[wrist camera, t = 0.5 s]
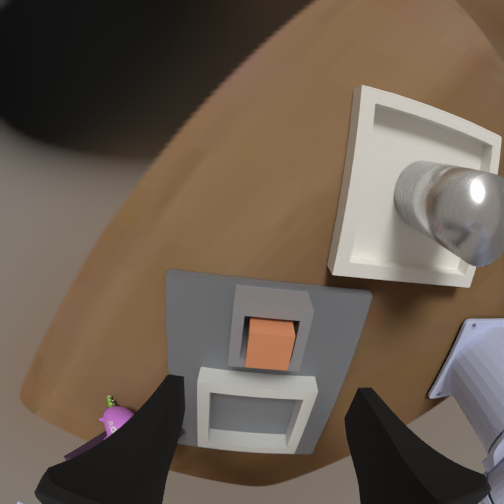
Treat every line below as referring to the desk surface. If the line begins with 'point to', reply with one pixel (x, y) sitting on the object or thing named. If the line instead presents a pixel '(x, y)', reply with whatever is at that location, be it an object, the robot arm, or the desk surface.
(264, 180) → the desk surface
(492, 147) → the tray
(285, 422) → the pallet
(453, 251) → the cylinder
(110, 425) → the eggplant monster toy
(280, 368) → the button
